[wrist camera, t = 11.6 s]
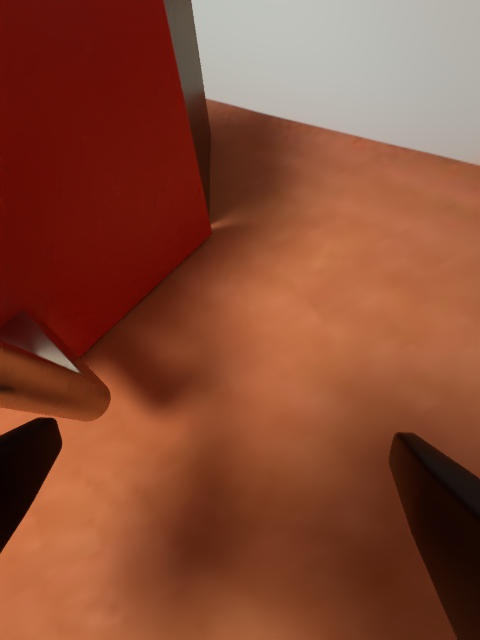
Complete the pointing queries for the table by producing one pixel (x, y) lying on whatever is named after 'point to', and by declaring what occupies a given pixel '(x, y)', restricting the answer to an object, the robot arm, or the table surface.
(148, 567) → the table surface
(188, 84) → the black cabinet
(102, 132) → the door
